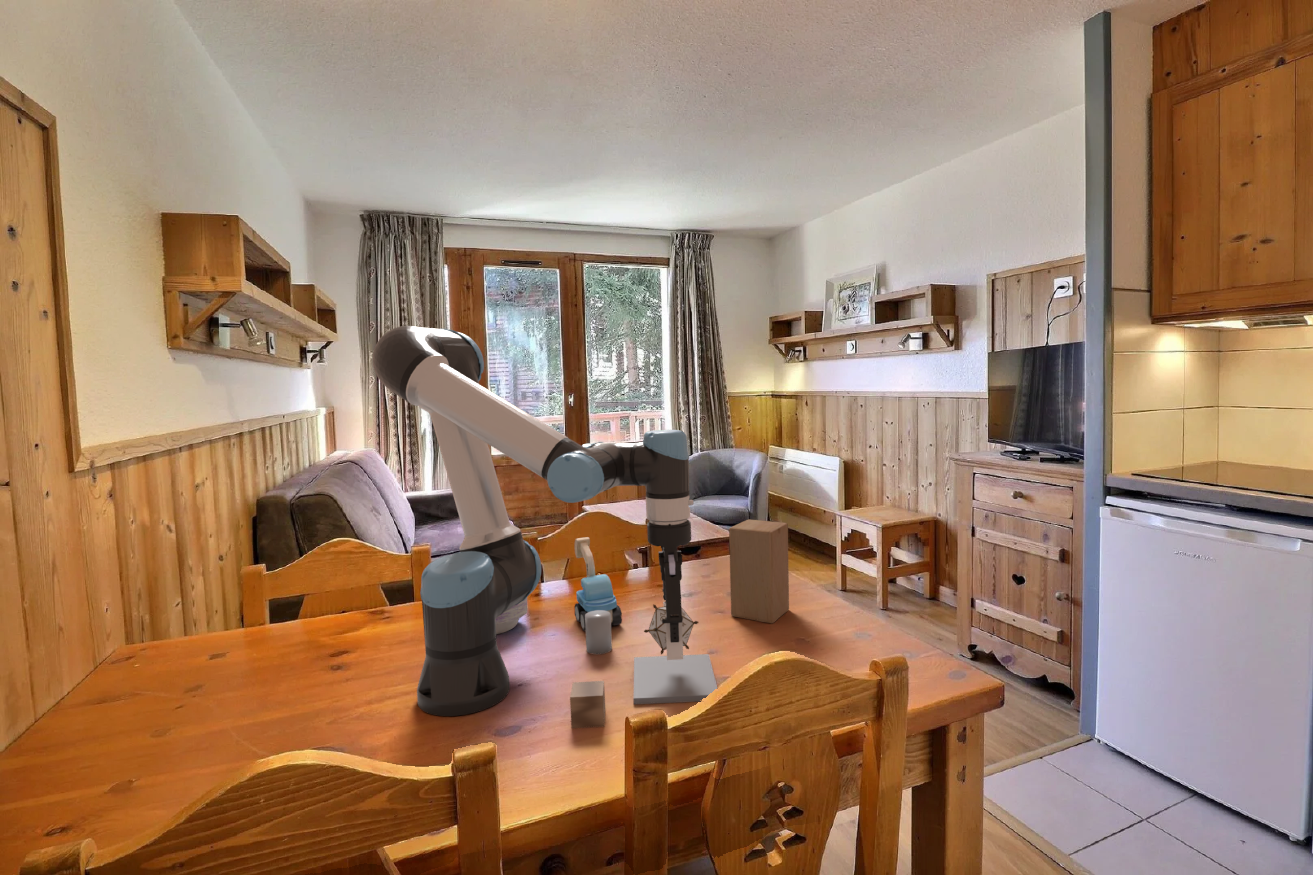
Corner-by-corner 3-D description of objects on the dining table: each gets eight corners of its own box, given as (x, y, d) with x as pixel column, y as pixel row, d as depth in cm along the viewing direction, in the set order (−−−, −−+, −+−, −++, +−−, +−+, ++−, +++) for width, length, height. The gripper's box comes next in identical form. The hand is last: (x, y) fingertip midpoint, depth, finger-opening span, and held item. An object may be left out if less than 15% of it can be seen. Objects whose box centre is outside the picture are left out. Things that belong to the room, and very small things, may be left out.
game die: (680, 672, 113) (693, 639, 107) (635, 654, 114) (645, 620, 108) (694, 632, 120) (707, 598, 114) (650, 615, 121) (661, 581, 115)
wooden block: (789, 609, 148) (788, 522, 146) (772, 624, 140) (771, 532, 138) (749, 602, 153) (747, 518, 152) (730, 616, 145) (728, 527, 143)
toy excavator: (602, 604, 156) (600, 533, 154) (624, 628, 140) (621, 549, 139) (567, 609, 153) (564, 537, 151) (585, 634, 137) (581, 554, 136)
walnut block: (571, 728, 100) (570, 697, 100) (574, 712, 105) (572, 682, 105) (604, 726, 100) (602, 695, 100) (605, 710, 105) (604, 680, 105)
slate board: (633, 704, 107) (633, 698, 107) (634, 662, 123) (634, 657, 123) (719, 700, 107) (719, 694, 107) (708, 659, 123) (708, 653, 123)
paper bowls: (490, 611, 153) (488, 578, 153) (542, 620, 146) (540, 586, 146) (441, 634, 140) (438, 598, 139) (495, 646, 133) (493, 608, 132)
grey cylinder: (585, 654, 127) (583, 619, 127) (587, 644, 132) (586, 610, 132) (611, 653, 127) (609, 618, 127) (612, 643, 132) (611, 609, 132)
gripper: (696, 533, 102) (700, 673, 104) (686, 507, 123) (690, 623, 125) (647, 535, 102) (653, 675, 104) (646, 508, 123) (651, 625, 125)
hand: (673, 647), depth 115 cm, fingers closed on game die, 9 cm apart
